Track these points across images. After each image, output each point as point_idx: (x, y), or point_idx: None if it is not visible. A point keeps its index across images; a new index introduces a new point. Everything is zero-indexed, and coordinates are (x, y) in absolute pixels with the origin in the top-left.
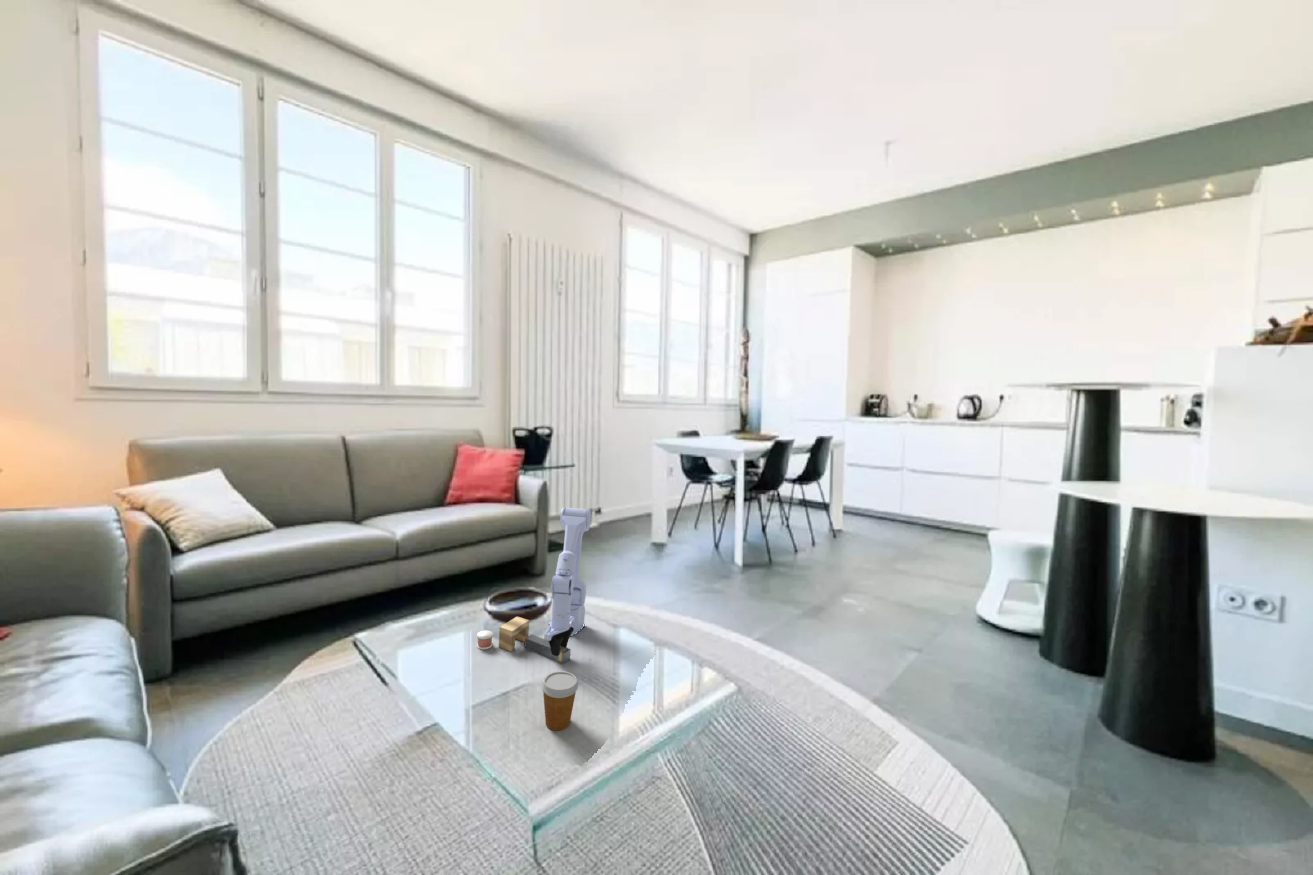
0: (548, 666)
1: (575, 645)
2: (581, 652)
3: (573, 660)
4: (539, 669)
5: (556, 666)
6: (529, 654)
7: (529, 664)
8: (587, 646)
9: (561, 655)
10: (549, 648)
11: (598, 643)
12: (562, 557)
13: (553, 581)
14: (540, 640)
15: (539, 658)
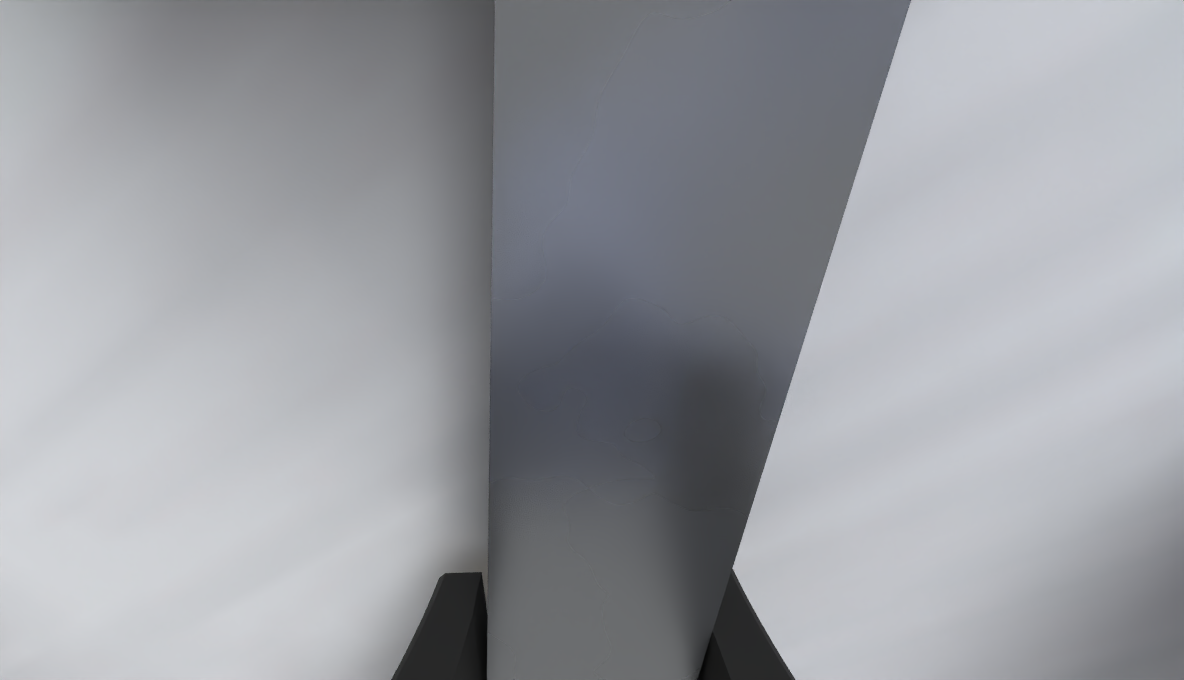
0: (302, 527)
1: (1051, 516)
2: (872, 638)
3: None
4: (132, 480)
5: (385, 592)
6: (350, 8)
7: (75, 271)
8: (1054, 624)
9: None
10: (492, 557)
11: (1161, 670)
12: None
13: None
14: (690, 204)
15: (380, 300)
